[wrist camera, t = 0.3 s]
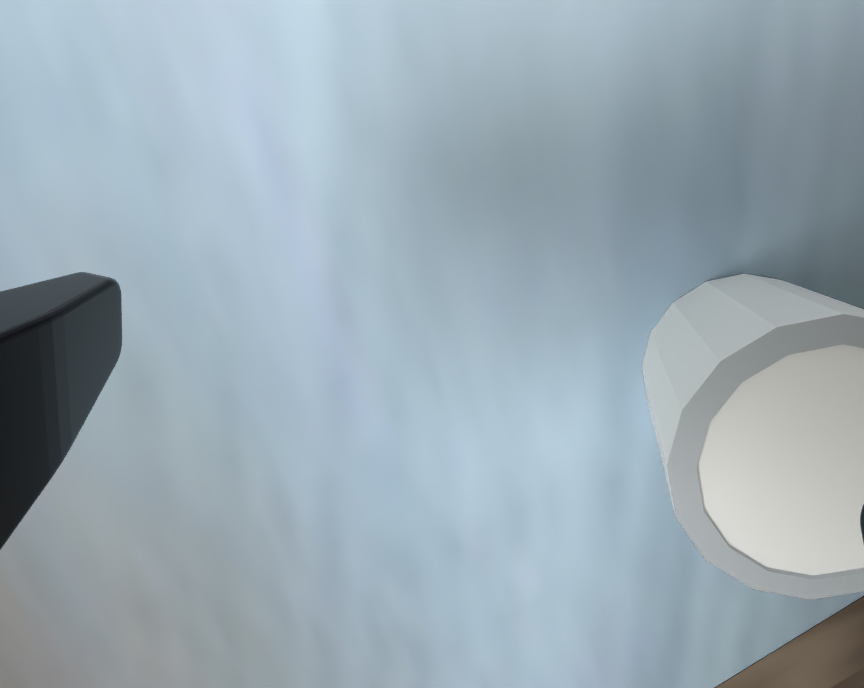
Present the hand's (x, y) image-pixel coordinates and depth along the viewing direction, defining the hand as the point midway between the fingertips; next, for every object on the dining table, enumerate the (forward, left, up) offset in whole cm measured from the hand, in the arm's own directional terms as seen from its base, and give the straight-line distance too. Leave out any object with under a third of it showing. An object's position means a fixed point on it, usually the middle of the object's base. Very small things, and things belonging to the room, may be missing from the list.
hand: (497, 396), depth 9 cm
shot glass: (+3, -8, -15) cm, 18 cm away
